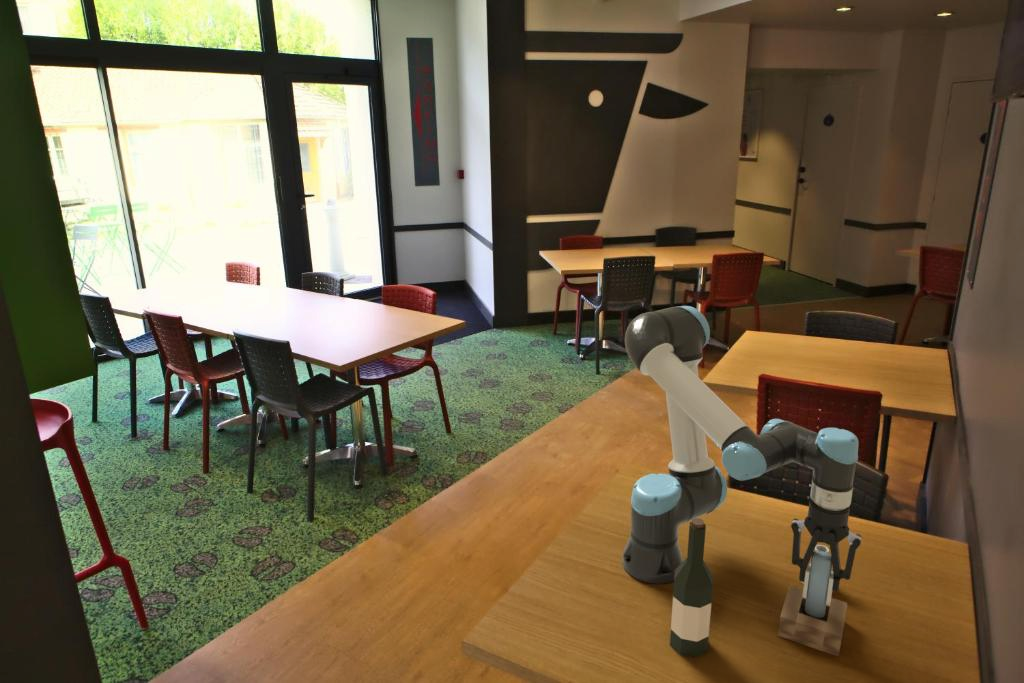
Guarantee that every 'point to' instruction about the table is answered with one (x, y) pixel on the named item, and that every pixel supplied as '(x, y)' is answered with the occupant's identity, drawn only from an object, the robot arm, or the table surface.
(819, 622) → the bore block
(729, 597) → the table surface
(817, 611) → the dowel
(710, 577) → the wine bottle
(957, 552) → the table surface
